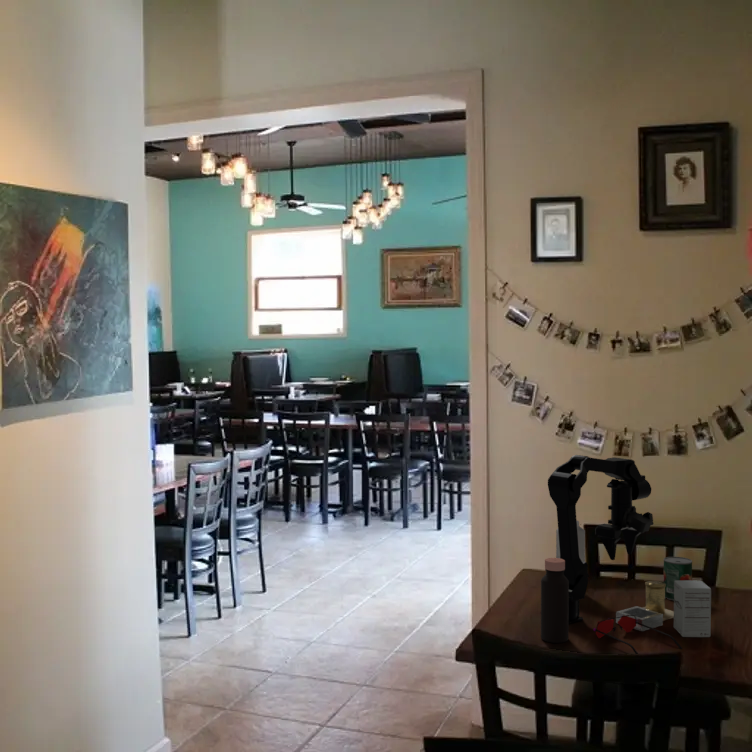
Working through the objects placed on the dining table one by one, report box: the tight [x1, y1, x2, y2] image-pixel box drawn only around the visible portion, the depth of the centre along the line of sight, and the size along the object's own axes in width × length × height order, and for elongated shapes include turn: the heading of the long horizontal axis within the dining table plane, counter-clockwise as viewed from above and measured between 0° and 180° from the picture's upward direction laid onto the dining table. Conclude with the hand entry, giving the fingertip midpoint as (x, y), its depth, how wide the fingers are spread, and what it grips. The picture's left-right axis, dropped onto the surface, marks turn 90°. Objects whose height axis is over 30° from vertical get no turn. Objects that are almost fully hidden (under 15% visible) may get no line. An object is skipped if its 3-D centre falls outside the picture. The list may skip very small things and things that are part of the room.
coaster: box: [641, 606, 674, 622], centre depth 246 cm, size 10×10×1 cm
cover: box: [644, 580, 666, 615], centre depth 246 cm, size 5×5×8 cm
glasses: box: [593, 615, 683, 655], centre depth 223 cm, size 14×16×5 cm
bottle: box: [540, 557, 570, 644], centre depth 226 cm, size 7×7×20 cm
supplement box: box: [673, 579, 712, 638], centre depth 230 cm, size 7×7×13 cm
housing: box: [615, 605, 664, 632], centre depth 237 cm, size 8×8×3 cm
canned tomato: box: [663, 556, 693, 602], centre depth 261 cm, size 8×8×11 cm
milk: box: [555, 520, 586, 592], centre depth 265 cm, size 6×6×22 cm
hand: (621, 557), depth 256 cm, fingers open, 9 cm apart
